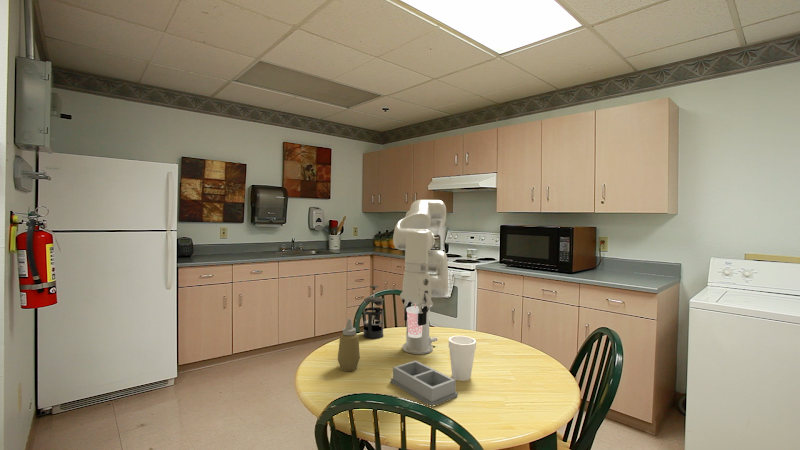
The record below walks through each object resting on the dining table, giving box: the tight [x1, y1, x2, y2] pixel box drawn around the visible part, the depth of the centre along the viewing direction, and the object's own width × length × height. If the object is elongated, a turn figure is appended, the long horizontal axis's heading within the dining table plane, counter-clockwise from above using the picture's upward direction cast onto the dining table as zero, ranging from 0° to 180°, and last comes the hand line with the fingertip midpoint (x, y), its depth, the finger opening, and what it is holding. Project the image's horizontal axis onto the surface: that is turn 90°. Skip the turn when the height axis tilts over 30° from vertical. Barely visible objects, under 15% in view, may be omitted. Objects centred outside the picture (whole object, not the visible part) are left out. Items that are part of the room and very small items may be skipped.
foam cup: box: [448, 335, 477, 382], centre depth 132 cm, size 10×9×13 cm
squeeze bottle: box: [337, 318, 361, 372], centre depth 137 cm, size 8×8×18 cm
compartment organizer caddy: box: [390, 360, 459, 408], centre depth 122 cm, size 20×11×5 cm, turn 38°
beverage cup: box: [406, 304, 423, 338], centre depth 125 cm, size 6×6×14 cm
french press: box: [362, 285, 385, 340], centre depth 174 cm, size 12×9×23 cm
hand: (415, 321), depth 125 cm, fingers closed on beverage cup, 6 cm apart
